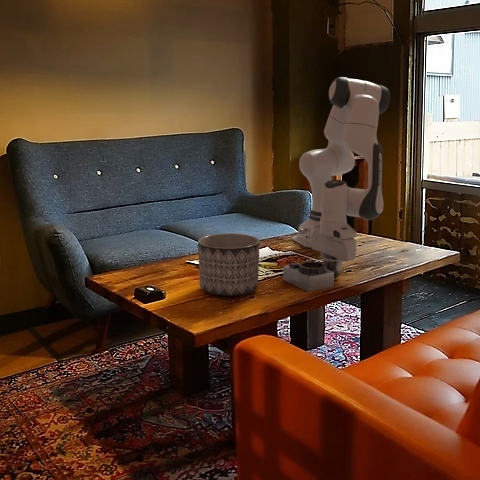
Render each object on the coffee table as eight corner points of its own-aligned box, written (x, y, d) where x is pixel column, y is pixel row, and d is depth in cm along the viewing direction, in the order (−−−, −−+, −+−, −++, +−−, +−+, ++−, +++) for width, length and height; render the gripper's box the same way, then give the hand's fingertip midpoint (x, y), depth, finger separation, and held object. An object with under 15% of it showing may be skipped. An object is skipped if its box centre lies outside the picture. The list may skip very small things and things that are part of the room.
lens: (320, 273, 215) (321, 253, 213) (332, 271, 218) (333, 251, 216) (330, 277, 211) (330, 256, 209) (341, 275, 214) (342, 254, 212)
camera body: (283, 280, 208) (283, 260, 206) (307, 275, 213) (307, 256, 211) (308, 291, 196) (309, 271, 195) (333, 286, 201) (334, 266, 200)
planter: (211, 304, 185) (211, 251, 181) (190, 285, 202) (189, 236, 198) (269, 295, 193) (270, 244, 189) (244, 278, 210) (244, 231, 206)
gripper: (307, 223, 218) (306, 261, 221) (345, 235, 200) (343, 276, 204) (321, 221, 221) (320, 259, 224) (360, 233, 204) (358, 273, 207)
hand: (331, 267), depth 214 cm, fingers closed on lens, 5 cm apart
